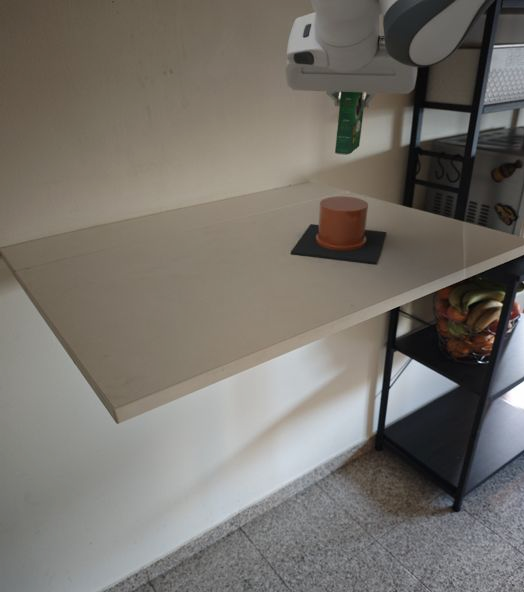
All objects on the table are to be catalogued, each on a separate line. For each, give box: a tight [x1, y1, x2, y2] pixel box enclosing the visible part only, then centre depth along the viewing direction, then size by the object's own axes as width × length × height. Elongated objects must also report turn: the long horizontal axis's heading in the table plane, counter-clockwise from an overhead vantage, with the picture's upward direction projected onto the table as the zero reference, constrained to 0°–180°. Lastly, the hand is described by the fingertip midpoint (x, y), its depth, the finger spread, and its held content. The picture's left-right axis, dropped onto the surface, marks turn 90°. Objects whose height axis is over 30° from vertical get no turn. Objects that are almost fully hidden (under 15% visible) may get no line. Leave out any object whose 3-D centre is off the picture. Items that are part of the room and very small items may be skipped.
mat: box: [290, 223, 387, 265], centre depth 98 cm, size 16×16×1 cm
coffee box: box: [334, 92, 365, 156], centre depth 85 cm, size 8×3×13 cm, turn 160°
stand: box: [316, 196, 369, 251], centre depth 96 cm, size 10×10×8 cm
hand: (352, 103), depth 85 cm, fingers closed on coffee box, 3 cm apart
